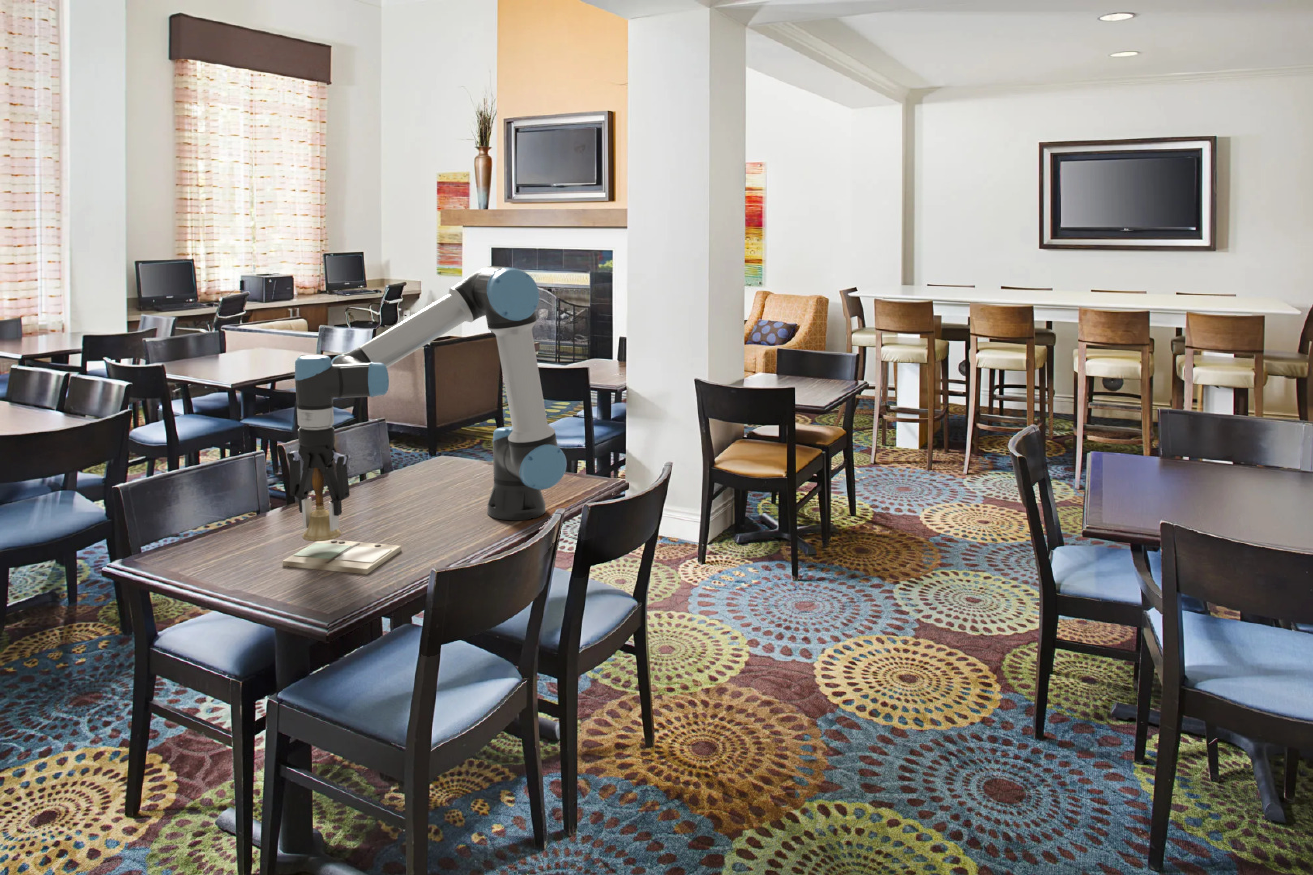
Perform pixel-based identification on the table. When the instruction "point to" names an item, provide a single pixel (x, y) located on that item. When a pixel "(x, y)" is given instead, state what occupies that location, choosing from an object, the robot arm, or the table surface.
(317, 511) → the hand bell
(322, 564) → the slot board
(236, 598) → the table surface
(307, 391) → the robot arm
